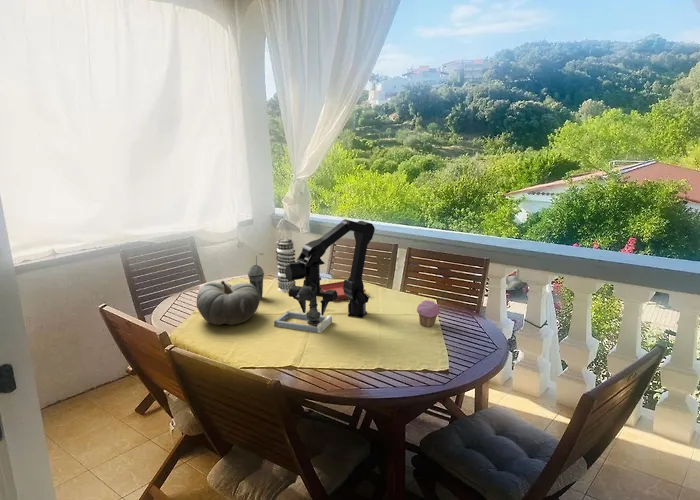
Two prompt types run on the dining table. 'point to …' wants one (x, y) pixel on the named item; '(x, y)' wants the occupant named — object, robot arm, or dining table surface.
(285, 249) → the decorative candle
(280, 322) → the frame
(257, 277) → the beverage cup
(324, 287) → the plant saucer
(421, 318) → the cupcake
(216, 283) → the gourd
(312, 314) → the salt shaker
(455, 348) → the dining table surface
